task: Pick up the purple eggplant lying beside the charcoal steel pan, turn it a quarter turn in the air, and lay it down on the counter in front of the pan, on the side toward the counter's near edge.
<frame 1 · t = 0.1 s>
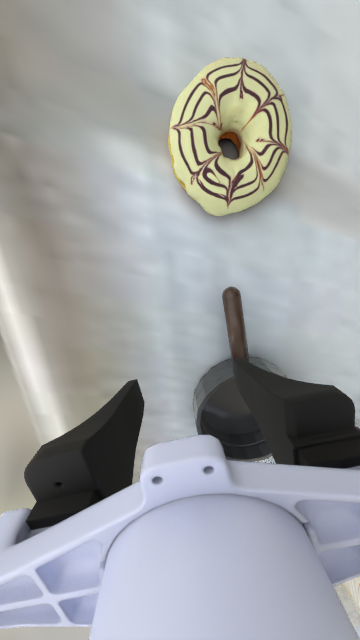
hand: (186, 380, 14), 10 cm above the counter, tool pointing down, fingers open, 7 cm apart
pan: (239, 398, 27), on the counter
coffeecake box: (353, 552, 37), on the counter
decorated donut: (222, 160, 19), on the counter
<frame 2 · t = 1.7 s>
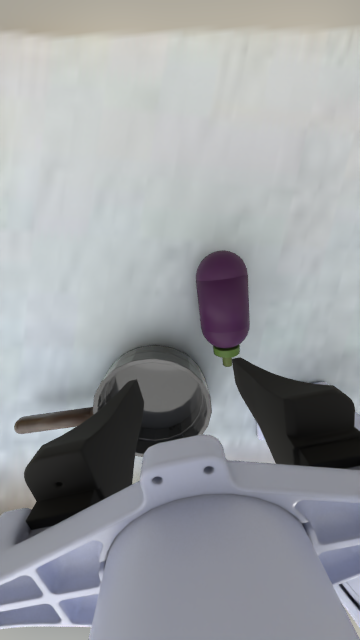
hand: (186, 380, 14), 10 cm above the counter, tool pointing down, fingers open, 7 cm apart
pan: (156, 390, 25), on the counter
eggplant: (217, 297, 22), on the counter
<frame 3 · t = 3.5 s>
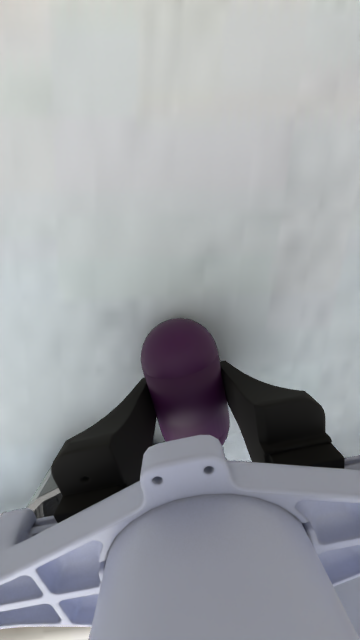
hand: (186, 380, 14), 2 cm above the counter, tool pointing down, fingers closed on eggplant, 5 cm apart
pan: (118, 486, 19), on the counter
eggplant: (185, 369, 16), on the counter, touching gripper
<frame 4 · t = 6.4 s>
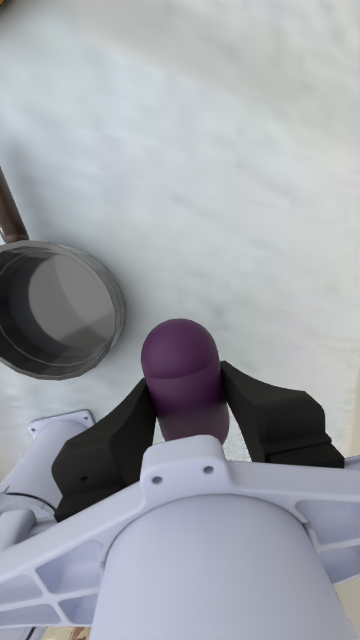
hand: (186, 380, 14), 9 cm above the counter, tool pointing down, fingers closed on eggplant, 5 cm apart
pan: (66, 308, 21), on the counter
figurine: (91, 626, 38), on the counter
eggplant: (185, 369, 16), point 7 cm above the counter, touching gripper
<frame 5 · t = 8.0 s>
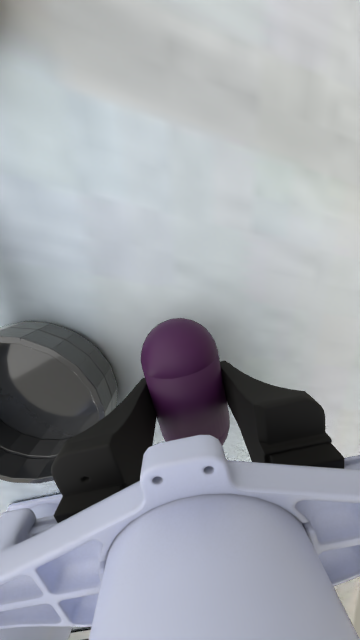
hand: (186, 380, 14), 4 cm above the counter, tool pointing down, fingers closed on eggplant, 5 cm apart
pan: (49, 386, 18), on the counter
eggplant: (185, 369, 16), point 2 cm above the counter, touching gripper
when the fingers open (2 cm above the counter, at t = 9.2 s): eggplant stays where it is, on the counter.
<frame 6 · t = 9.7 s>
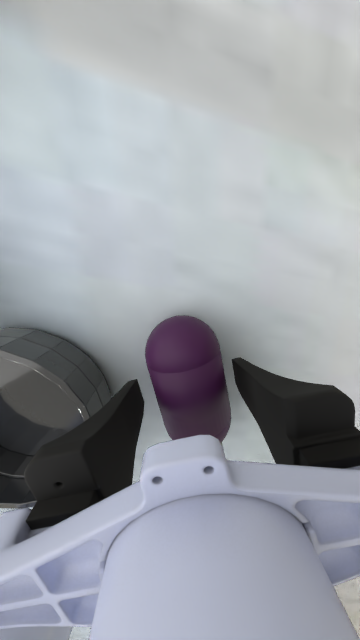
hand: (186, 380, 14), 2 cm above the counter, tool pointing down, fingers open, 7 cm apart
pan: (36, 398, 17), on the counter
eggplant: (184, 366, 16), on the counter
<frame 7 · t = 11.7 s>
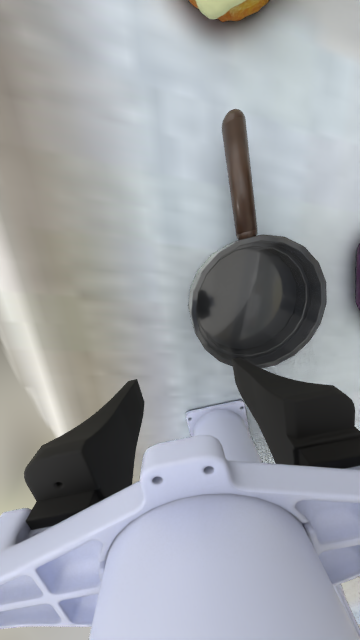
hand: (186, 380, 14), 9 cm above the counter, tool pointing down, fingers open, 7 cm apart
pan: (244, 301, 22), on the counter
eggplant: (358, 275, 22), on the counter, tilted 25°
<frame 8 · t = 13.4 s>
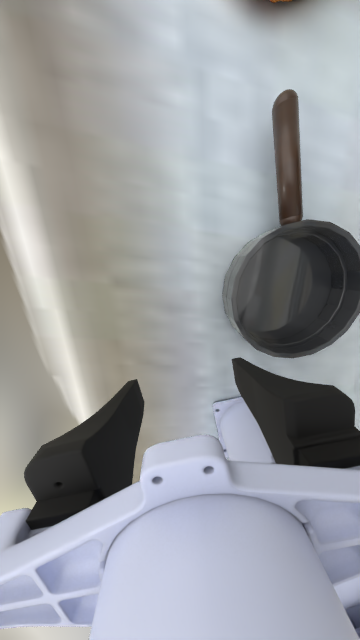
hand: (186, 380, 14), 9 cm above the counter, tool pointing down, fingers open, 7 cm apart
pan: (278, 290, 22), on the counter
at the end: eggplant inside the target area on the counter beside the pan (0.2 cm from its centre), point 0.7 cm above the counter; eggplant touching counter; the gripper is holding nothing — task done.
